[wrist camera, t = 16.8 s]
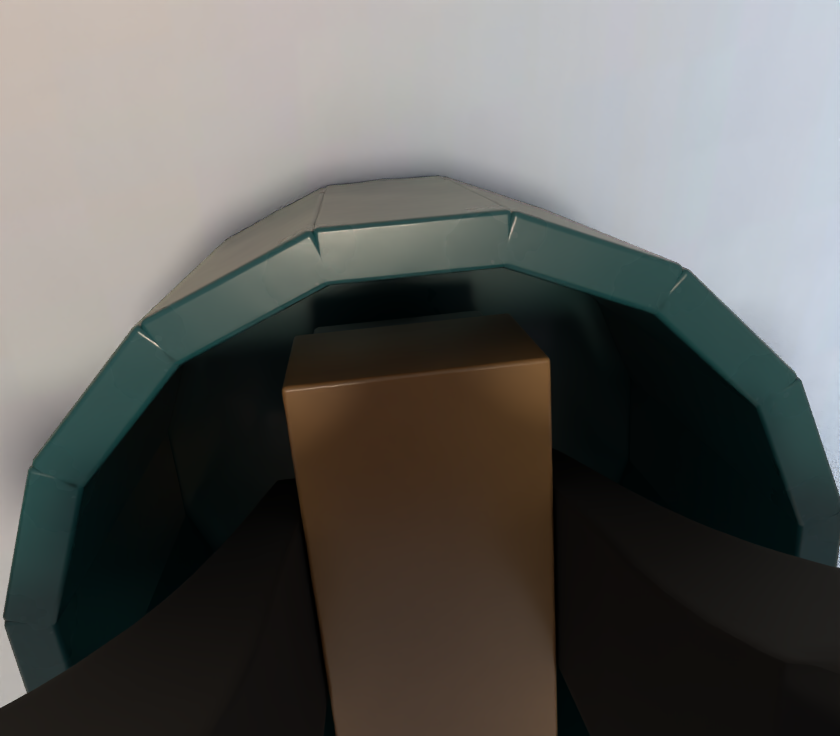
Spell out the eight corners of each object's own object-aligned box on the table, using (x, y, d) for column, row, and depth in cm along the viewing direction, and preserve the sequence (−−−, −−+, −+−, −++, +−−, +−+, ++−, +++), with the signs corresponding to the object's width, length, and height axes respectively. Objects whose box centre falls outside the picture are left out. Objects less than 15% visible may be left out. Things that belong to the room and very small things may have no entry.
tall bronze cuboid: (492, 292, 12) (551, 357, 8) (507, 615, 14) (559, 769, 10) (298, 312, 11) (280, 387, 8) (344, 637, 14) (345, 802, 10)
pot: (657, 153, 13) (894, 173, 7) (643, 610, 16) (798, 859, 11) (91, 204, 12) (-121, 268, 7) (198, 671, 16) (118, 973, 10)
